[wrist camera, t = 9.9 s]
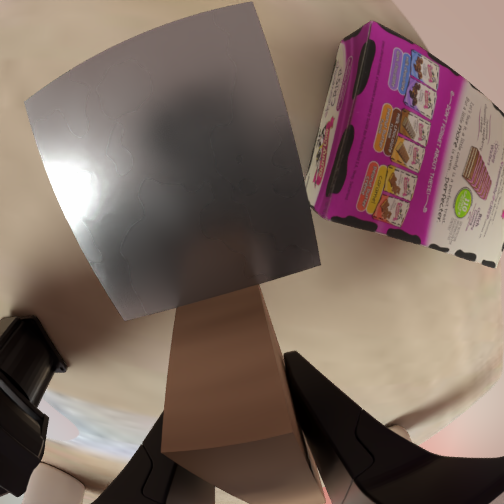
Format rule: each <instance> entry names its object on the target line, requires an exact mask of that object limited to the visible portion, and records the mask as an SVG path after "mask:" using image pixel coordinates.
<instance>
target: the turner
mask: <svg viewBox="0 0 504 504" xmlns="http://www.w3.org/2000/svg"><path fill="white" fill-rule="evenodd" d="M24 103H25V107H26V111H27V114H28V118H29V121H30V125H31V128H32V131H33V135H34V138H35V141H36V144H37V147H38V150H39V153H40V155H41V158H42V161H43V164H44V166H45V169H46V172H47V174H48V177H49V179H50V182H51V184H52V187H53V189H54V192H55V194H56V196H57V199H58V201H59V203H60V205H61V208H62V210H63V212H64V214H65V216H66V219H67V221H68V223H69V225H70V227H71V229H72V231H73V233H74V235H75V237H76V239H77V241H78V243H79V245H80V247H81V249H82V251H83V253H84V254H85V256H86V258H87V260H88V262H89V264H90V265H91V267H92V269H93V271H94V273H95V274H96V276H97V278H98V279H99V281H100V283H101V285H102V286H103V288H104V290H105V291H106V293H107V294H108V296H109V298H110V299H111V301H112V303H113V304H114V306H115V307H116V309H117V310H118V312H119V313H120V315H121V316H122V318H123V320H124V321H127V320H131V319H135V318H139V317H143V316H146V315H150V314H154V313H158V312H162V311H165V310H169V309H173V308H176V315H175V321H174V328H173V335H172V343H171V350H170V358H169V367H168V375H167V384H166V394H165V405H164V416H163V428H162V443H161V453H162V454H164V455H165V456H167V457H168V458H170V459H171V460H173V461H174V462H176V463H177V464H179V465H180V466H182V467H183V468H185V469H187V470H188V471H190V472H191V473H193V474H195V475H196V476H198V477H200V478H201V479H203V480H205V481H207V482H208V483H210V484H212V485H214V486H215V487H217V488H219V489H221V490H223V491H225V492H227V493H229V494H231V495H233V496H235V497H237V498H239V499H241V500H243V501H245V502H247V503H249V504H324V503H326V500H325V497H324V493H323V489H322V485H321V481H320V478H319V474H318V470H317V466H316V463H315V461H314V458H313V456H312V453H311V451H310V448H309V446H308V443H307V441H306V438H305V436H304V433H303V431H302V428H301V425H300V421H299V418H298V415H297V411H296V408H295V404H294V400H293V397H292V393H291V389H290V385H289V381H288V378H287V374H286V370H285V363H284V359H283V356H282V353H281V349H280V346H279V343H278V340H277V337H276V334H275V331H274V328H273V325H272V322H271V319H270V316H269V313H268V310H267V307H266V304H265V301H264V298H263V295H262V292H261V289H260V286H259V284H261V283H264V282H268V281H271V280H274V279H277V278H281V277H284V276H287V275H291V274H294V273H297V272H300V271H303V270H307V269H310V268H313V267H316V266H319V265H321V263H320V257H319V251H318V246H317V240H316V235H315V230H314V225H313V220H312V215H311V210H310V205H309V200H308V196H307V191H306V186H305V182H304V177H303V173H302V169H301V164H300V160H299V156H298V152H297V148H296V144H295V140H294V136H293V132H292V128H291V124H290V120H289V117H288V113H287V109H286V105H285V102H284V98H283V95H282V91H281V88H280V84H279V81H278V78H277V74H276V71H275V68H274V64H273V61H272V58H271V55H270V51H269V48H268V45H267V42H266V39H265V36H264V33H263V30H262V27H261V24H260V21H259V19H258V16H257V13H256V10H255V7H254V5H253V2H247V3H241V4H236V5H232V6H227V7H223V8H219V9H214V10H211V11H207V12H203V13H200V14H196V15H193V16H189V17H186V18H183V19H180V20H177V21H174V22H171V23H168V24H165V25H162V26H160V27H157V28H154V29H152V30H149V31H147V32H144V33H142V34H140V35H137V36H135V37H133V38H130V39H128V40H126V41H124V42H121V43H119V44H117V45H115V46H113V47H111V48H109V49H107V50H105V51H103V52H101V53H99V54H97V55H95V56H94V57H92V58H90V59H88V60H86V61H85V62H83V63H81V64H79V65H78V66H76V67H74V68H73V69H71V70H69V71H68V72H66V73H65V74H63V75H61V76H60V77H58V78H57V79H55V80H54V81H52V82H51V83H49V84H48V85H46V86H45V87H44V88H42V89H41V90H39V91H38V92H37V93H35V94H34V95H32V96H31V97H30V98H29V99H27V100H26V101H25V102H24Z"/></svg>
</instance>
